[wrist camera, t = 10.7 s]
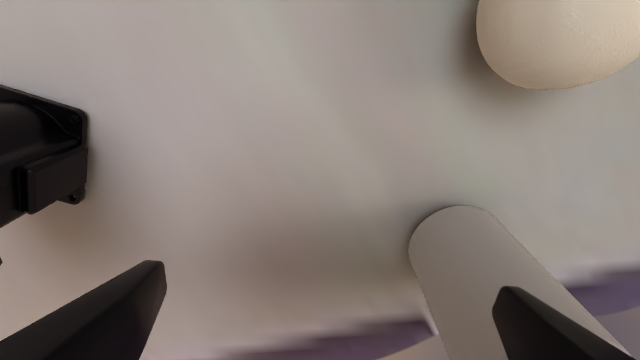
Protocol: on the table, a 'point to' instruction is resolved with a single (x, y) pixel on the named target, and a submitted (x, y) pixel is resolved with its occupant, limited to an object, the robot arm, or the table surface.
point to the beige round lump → (557, 40)
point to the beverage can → (481, 280)
